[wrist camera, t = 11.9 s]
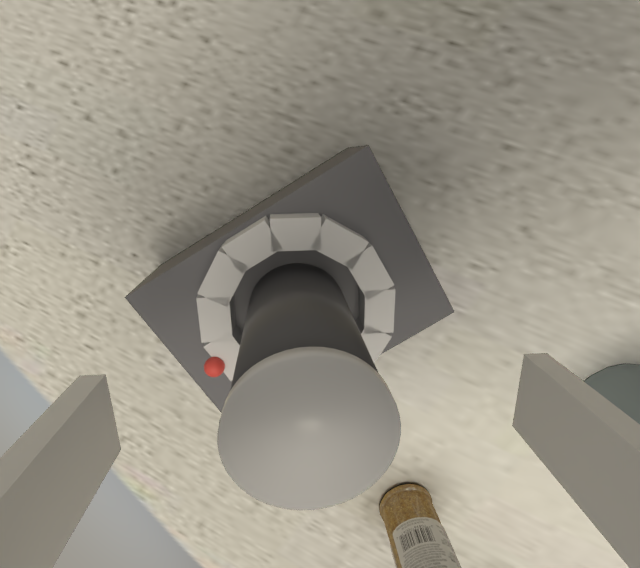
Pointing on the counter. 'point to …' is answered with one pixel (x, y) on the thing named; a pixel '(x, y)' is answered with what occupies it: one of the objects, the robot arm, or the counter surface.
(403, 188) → the counter surface
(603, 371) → the spray bottle
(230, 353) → the grey block with ring
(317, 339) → the grey cylinder
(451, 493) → the counter surface
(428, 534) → the sprinkles bottle
